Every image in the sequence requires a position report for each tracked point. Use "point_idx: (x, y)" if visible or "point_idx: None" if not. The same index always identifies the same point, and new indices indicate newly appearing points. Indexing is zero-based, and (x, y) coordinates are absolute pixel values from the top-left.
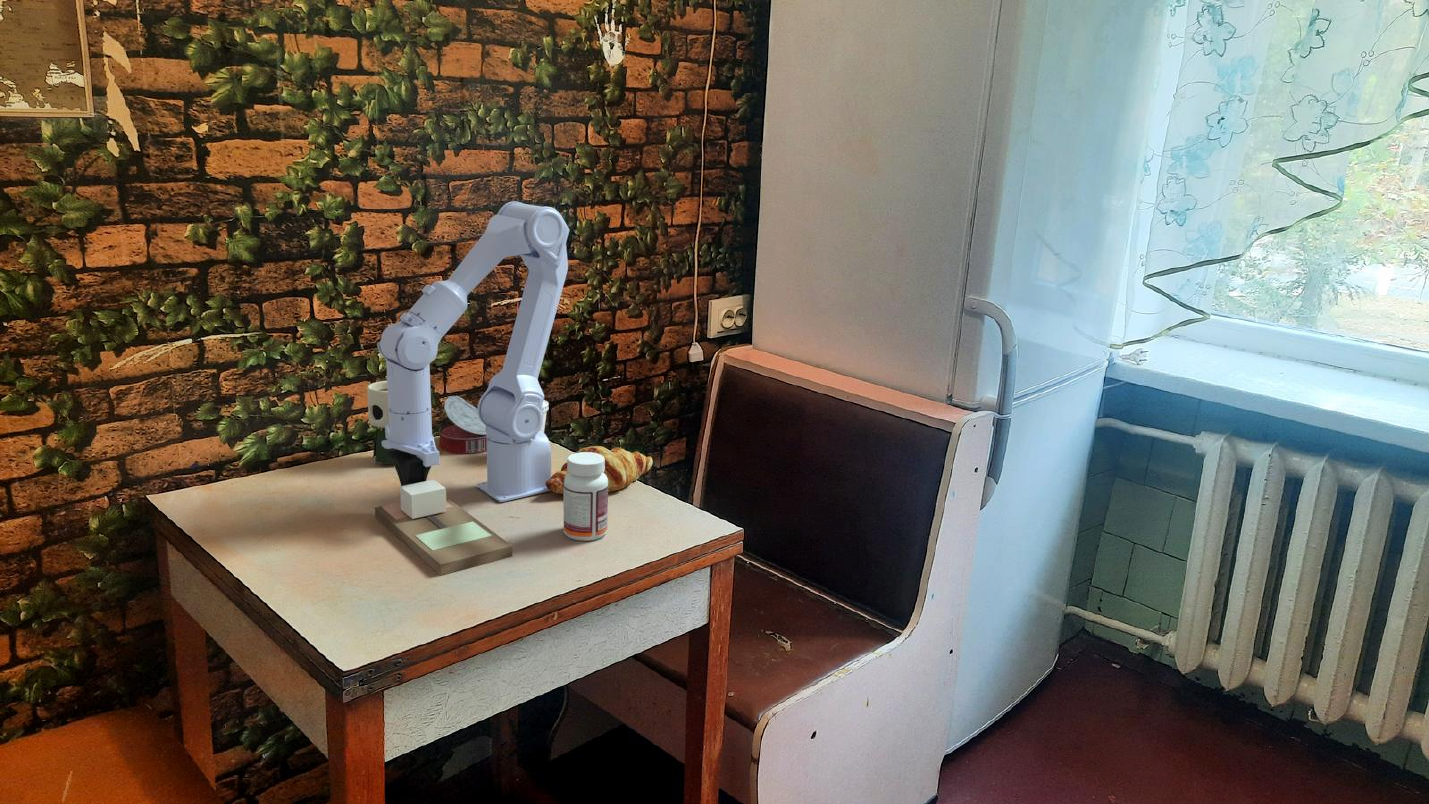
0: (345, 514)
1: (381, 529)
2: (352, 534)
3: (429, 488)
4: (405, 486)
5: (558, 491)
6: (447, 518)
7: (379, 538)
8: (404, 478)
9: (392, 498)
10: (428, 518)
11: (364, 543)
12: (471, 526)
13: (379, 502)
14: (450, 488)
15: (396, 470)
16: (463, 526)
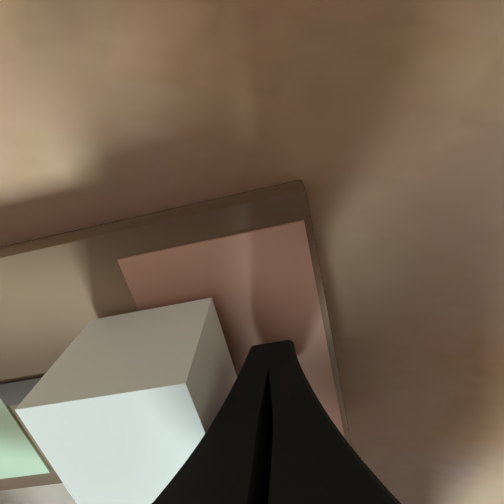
0: (404, 38)
1: (158, 185)
2: (130, 46)
3: (110, 494)
4: (174, 408)
5: None
6: None
7: (64, 163)
8: (196, 451)
9: (487, 278)
10: None
11: (18, 92)
12: (6, 461)
13: (472, 222)
14: (463, 459)
15: (337, 450)
16: (9, 444)
